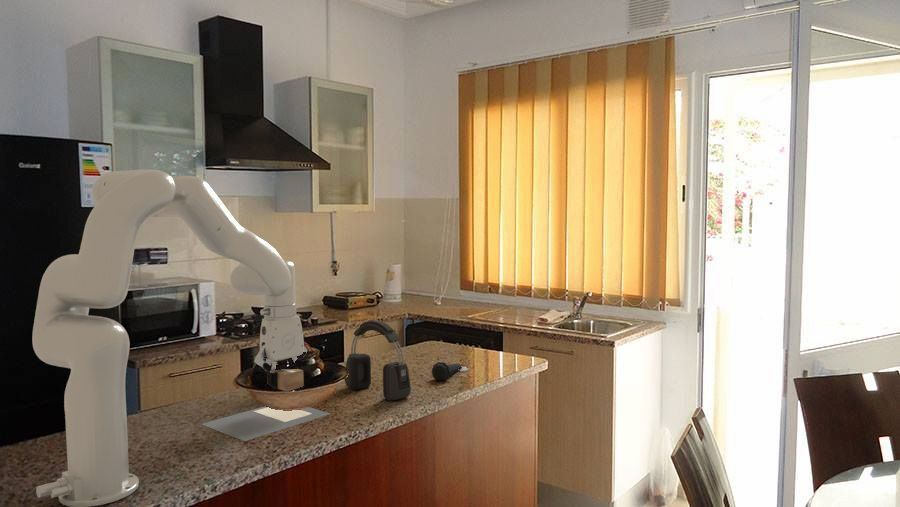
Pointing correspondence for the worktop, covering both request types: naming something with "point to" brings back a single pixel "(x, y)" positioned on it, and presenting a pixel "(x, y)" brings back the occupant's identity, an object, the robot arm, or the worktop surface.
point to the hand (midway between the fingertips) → (282, 384)
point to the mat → (262, 421)
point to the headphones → (393, 373)
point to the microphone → (444, 370)
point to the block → (289, 379)
